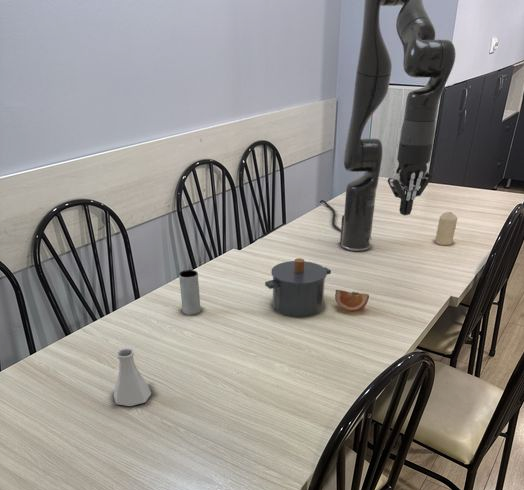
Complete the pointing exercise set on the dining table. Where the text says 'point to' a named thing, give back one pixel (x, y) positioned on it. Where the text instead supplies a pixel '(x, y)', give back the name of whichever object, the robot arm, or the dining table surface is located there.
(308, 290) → the pot
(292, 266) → the pot lid
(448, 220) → the candle
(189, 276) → the gray cylinder
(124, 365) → the flask
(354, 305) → the fruit slice
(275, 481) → the dining table surface
